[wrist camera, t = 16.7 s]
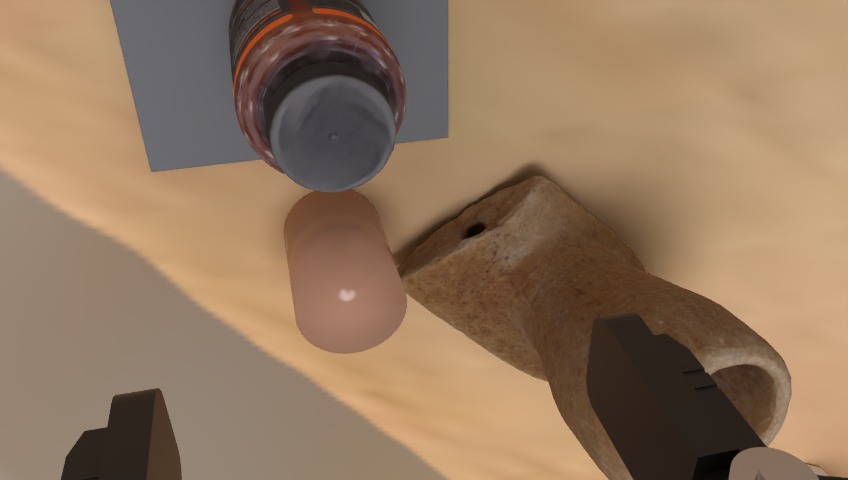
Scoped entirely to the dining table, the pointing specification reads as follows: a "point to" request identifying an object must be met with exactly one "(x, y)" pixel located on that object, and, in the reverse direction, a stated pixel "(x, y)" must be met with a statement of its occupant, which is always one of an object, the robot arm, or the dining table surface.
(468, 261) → the stone cup
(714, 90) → the dining table surface
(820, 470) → the white cup
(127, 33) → the mat
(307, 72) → the supplement bottle
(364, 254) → the terracotta jar
